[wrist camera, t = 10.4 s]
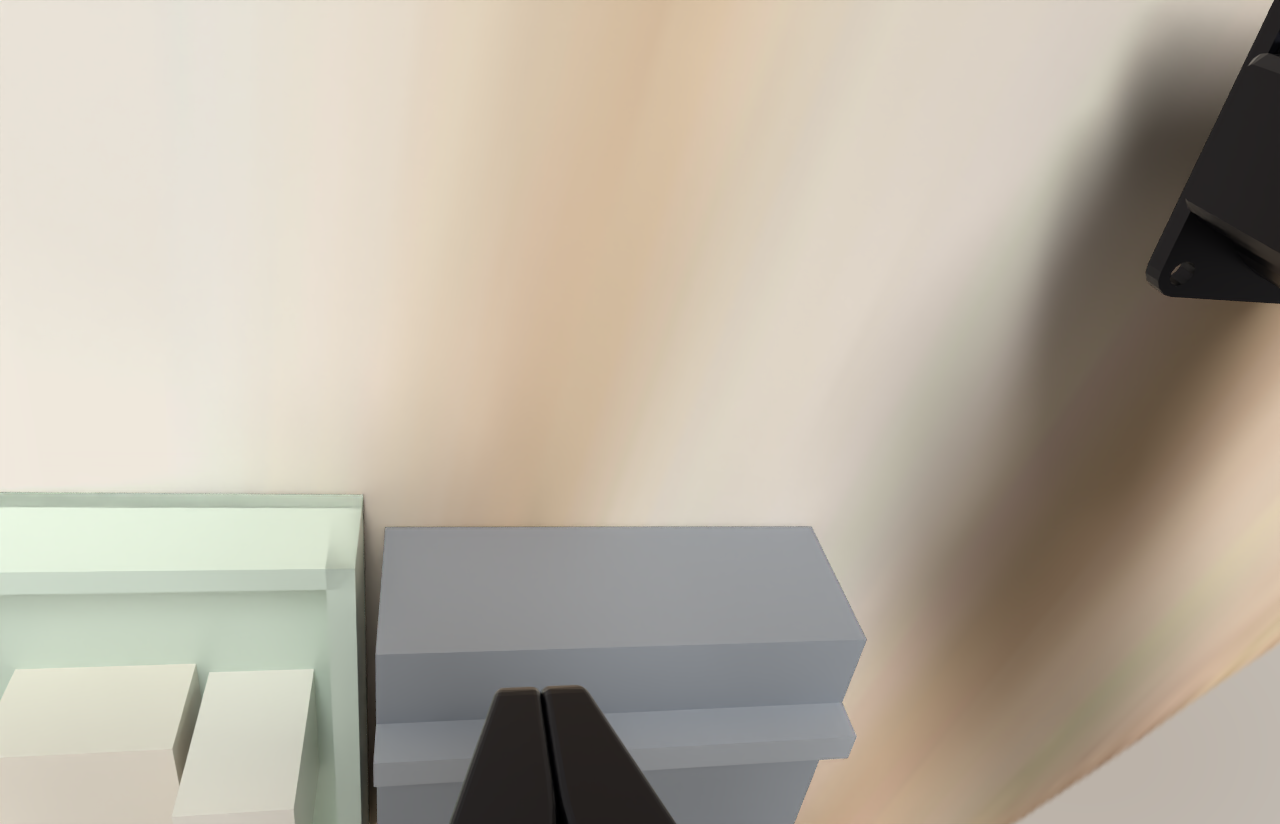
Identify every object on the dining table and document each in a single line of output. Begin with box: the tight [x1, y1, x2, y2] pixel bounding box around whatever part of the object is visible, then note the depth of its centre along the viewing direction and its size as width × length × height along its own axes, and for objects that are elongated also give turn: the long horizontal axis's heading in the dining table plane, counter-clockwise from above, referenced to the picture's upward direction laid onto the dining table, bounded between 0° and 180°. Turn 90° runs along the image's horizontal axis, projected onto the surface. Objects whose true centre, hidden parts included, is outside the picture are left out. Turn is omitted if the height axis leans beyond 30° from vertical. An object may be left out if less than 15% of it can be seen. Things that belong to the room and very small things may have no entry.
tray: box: [0, 492, 369, 824], centre depth 23 cm, size 11×14×2 cm
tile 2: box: [172, 669, 320, 824], centre depth 23 cm, size 4×4×2 cm
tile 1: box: [0, 664, 202, 824], centre depth 23 cm, size 4×4×2 cm
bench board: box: [373, 527, 867, 824], centre depth 25 cm, size 11×12×5 cm
